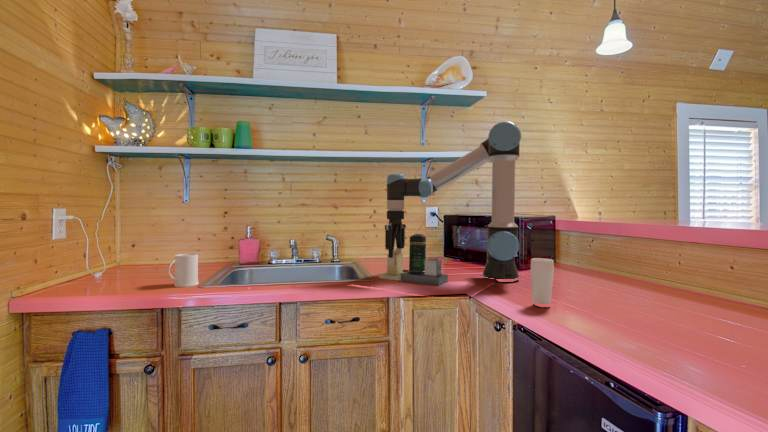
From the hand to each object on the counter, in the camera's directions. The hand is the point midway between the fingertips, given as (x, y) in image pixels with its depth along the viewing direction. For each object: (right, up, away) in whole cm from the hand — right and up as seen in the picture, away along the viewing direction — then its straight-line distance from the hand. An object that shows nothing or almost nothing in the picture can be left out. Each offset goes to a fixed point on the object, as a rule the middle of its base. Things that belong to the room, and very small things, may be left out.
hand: (395, 264), depth 160 cm
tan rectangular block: (0, -5, 0) cm, 5 cm away
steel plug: (+15, -6, -11) cm, 19 cm away
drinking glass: (+45, -8, -42) cm, 62 cm away
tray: (0, -7, 0) cm, 7 cm away
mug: (-84, -7, -15) cm, 85 cm away
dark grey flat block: (+12, -7, -9) cm, 16 cm away
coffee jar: (+11, -7, +18) cm, 22 cm away
